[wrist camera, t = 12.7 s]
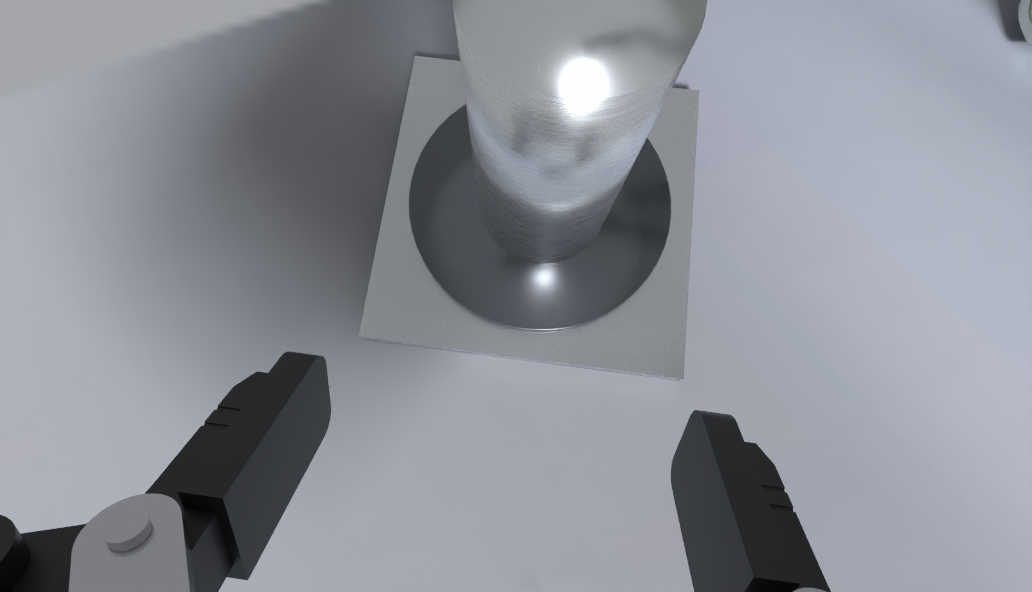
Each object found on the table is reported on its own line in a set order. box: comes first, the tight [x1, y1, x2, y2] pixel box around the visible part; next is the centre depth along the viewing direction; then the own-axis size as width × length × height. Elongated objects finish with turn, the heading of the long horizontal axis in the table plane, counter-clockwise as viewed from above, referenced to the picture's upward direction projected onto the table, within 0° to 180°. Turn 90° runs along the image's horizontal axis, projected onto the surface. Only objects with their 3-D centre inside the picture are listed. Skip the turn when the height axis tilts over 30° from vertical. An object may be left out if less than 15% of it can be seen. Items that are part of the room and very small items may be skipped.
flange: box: [358, 56, 699, 380], centre depth 20 cm, size 12×12×1 cm
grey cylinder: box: [452, 0, 707, 264], centre depth 14 cm, size 5×5×10 cm
